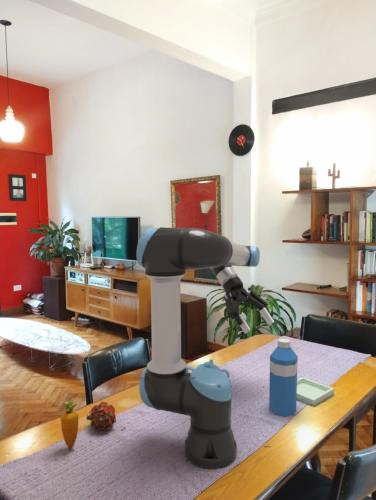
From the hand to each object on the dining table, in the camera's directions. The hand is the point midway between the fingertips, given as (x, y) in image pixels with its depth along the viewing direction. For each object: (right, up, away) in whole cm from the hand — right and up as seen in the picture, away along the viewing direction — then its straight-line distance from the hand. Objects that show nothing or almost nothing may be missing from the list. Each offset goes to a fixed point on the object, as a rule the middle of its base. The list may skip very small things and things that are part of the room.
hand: (260, 327), depth 144 cm
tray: (+19, -26, +6) cm, 33 cm away
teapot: (-19, -26, +9) cm, 34 cm away
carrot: (-61, -30, -28) cm, 74 cm away
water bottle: (+7, -28, -6) cm, 29 cm away
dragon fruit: (-54, -29, -16) cm, 64 cm away
